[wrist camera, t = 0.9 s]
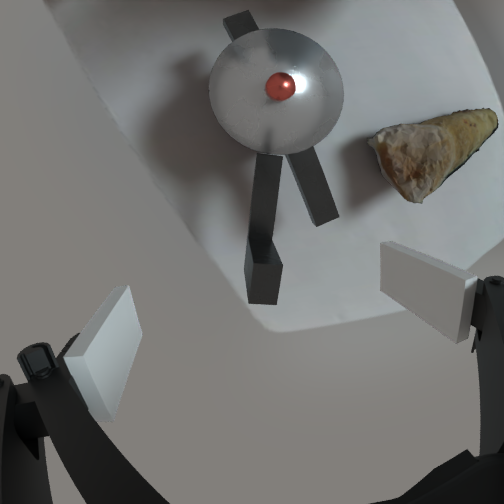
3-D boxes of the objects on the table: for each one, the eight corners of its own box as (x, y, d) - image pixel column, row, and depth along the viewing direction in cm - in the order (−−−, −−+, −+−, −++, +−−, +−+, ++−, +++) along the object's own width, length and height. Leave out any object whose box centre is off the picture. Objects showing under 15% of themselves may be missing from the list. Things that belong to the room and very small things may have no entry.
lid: (218, 25, 26) (216, -5, 18) (344, 46, 27) (374, 25, 20) (194, 265, 35) (187, 299, 28) (312, 273, 36) (332, 306, 29)
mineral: (508, 90, 29) (516, 146, 34) (468, 84, 37) (479, 134, 42) (400, 142, 30) (417, 214, 35) (359, 132, 38) (379, 192, 43)
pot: (189, 54, 34) (179, 33, 26) (278, 21, 33) (290, -5, 25) (268, 225, 43) (278, 247, 35) (350, 189, 42) (378, 202, 34)
